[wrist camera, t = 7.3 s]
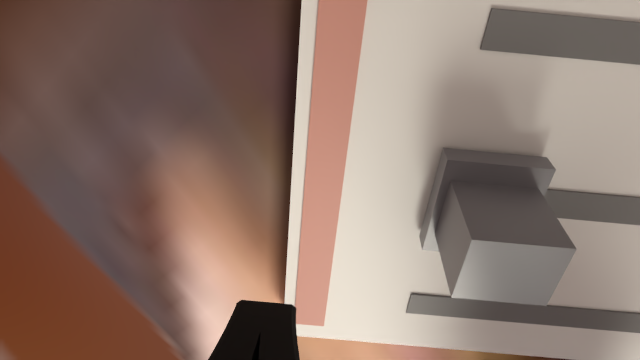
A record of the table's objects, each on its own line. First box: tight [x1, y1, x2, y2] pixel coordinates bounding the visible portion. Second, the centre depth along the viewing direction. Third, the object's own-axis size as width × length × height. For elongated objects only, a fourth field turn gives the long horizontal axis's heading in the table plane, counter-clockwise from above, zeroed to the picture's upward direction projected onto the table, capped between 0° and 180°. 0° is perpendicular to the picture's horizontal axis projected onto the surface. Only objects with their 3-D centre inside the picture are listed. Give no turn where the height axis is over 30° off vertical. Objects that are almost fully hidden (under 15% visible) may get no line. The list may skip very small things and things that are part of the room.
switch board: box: [284, 0, 640, 360], centre depth 18 cm, size 18×26×2 cm
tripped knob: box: [419, 148, 577, 306], centre depth 15 cm, size 4×4×4 cm
